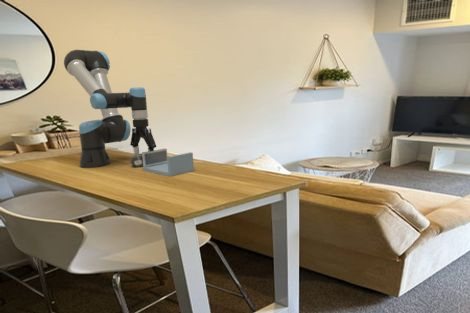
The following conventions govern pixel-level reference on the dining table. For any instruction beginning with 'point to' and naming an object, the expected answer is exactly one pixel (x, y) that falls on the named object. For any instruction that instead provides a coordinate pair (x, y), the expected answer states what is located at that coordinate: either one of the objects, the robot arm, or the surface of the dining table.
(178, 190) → the dining table surface
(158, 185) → the dining table surface
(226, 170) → the dining table surface
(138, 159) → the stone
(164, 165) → the vise
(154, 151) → the jaw
